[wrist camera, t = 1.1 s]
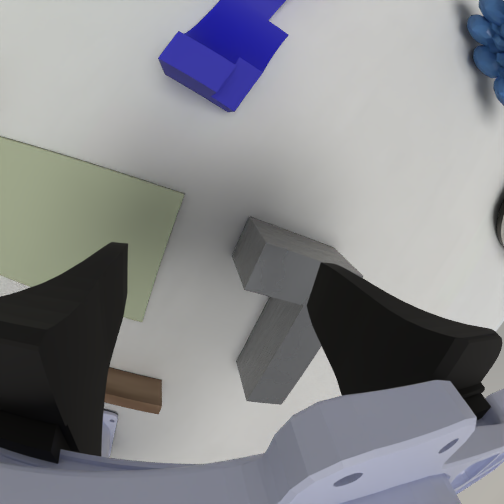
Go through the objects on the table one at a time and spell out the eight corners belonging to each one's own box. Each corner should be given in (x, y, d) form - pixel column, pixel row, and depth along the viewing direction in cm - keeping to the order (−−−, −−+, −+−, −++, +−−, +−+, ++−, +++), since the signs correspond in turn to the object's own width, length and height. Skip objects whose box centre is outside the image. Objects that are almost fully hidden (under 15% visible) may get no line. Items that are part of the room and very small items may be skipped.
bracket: (267, 366, 27) (281, 404, 23) (191, 352, 25) (195, 393, 21) (334, 247, 24) (363, 276, 20) (249, 216, 21) (266, 242, 17)
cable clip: (226, 111, 18) (245, 111, 13) (165, 74, 17) (158, 58, 11) (328, -16, 16) (373, -45, 10) (275, -52, 14) (306, -93, 8)
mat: (142, 319, 23) (141, 322, 23) (-27, 261, 18) (-29, 262, 17) (184, 193, 20) (184, 194, 19) (-13, 132, 15) (-15, 133, 14)
